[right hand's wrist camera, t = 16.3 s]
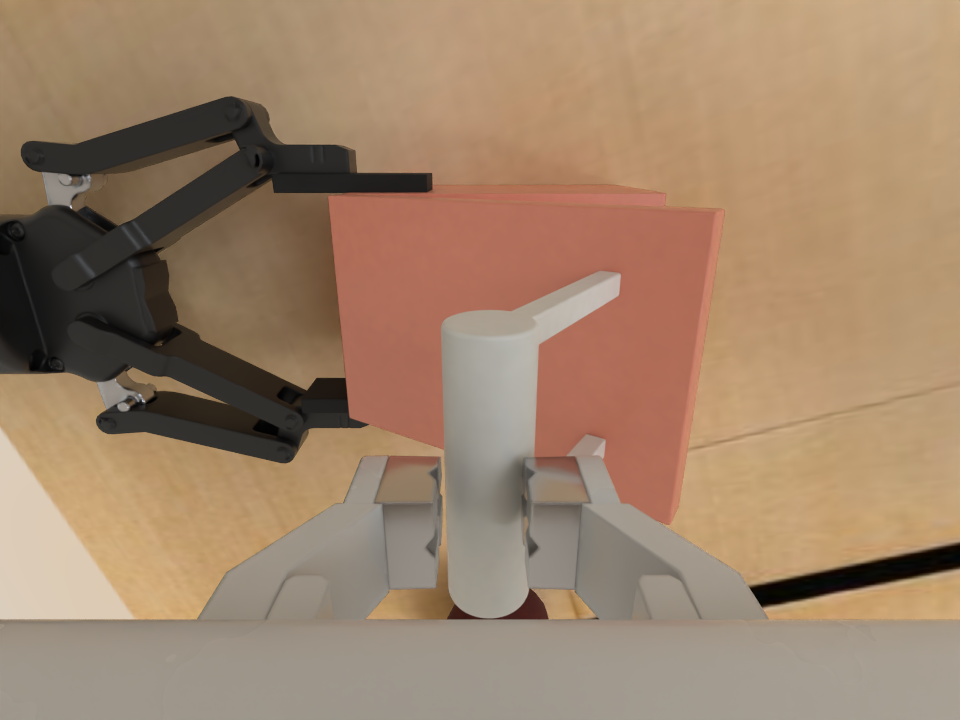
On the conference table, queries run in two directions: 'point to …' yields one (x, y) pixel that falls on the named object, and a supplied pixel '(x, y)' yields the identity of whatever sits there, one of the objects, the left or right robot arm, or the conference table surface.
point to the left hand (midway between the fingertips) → (433, 296)
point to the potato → (527, 611)
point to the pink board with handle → (524, 351)
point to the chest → (544, 194)
